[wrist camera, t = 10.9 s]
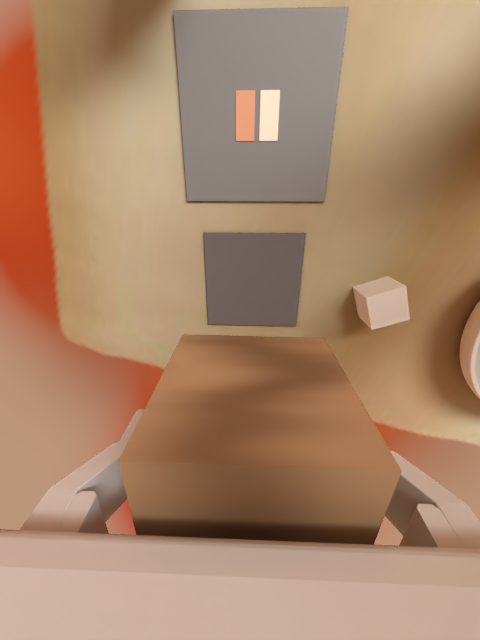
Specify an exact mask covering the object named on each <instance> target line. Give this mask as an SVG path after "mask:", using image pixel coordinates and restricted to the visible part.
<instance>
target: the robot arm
mask: <svg viewBox="0 0 480 640" xmlns="http://www.w3.org/2000/svg"><path fill="white" fill-rule="evenodd" d="M143 411H144V409H138V410H137V411H136V412H135V414H134V416H133V417H132V419H131V421H130V423H129V425H128V426H127V428H126V430H125V432H124V434H123V435H122V437H121V439H120V441H119V442H114V443H113V444H111V445H110V446H109V447H107V448H106V449H104V450H103V451H101V452H100V453H99V454H97V455H96V456H94V457H93V458H91V459H90V460H89V461H87V462H86V463H84V464H83V465H82V466H80V467H79V468H77V469H76V470H74V471H73V472H72V473H70V474H69V475H67V476H66V477H64V478H63V479H62V480H60V481H59V482H57V483H56V484H55V485H53V486H52V487H50V488H49V489H48V491H47V492H46V494H45V495H44V496H43V498H42V499H41V501H40V502H39V503H38V505H37V506H36V508H35V509H34V510H33V512H32V513H31V515H30V516H29V518H28V519H27V520H26V522H25V523H24V525H23V526H22V527H21V529H20V530H5V529H0V640H480V521H479V520H478V519H477V517H476V516H475V515H474V513H473V512H472V511H471V509H470V508H469V507H468V505H467V504H466V503H464V502H463V501H461V500H460V499H459V498H457V497H456V496H455V495H453V494H452V493H450V492H449V491H448V490H446V489H445V488H443V487H442V486H441V485H440V484H438V483H437V482H436V481H434V480H433V479H431V478H430V477H429V476H427V475H426V474H424V473H423V472H422V471H420V470H419V469H418V468H416V467H415V466H414V465H412V464H411V463H409V462H408V461H407V460H405V459H404V458H403V457H401V456H400V455H399V454H397V453H396V452H394V451H390V452H391V453H392V455H393V457H394V458H395V460H396V462H397V464H398V465H399V467H400V469H401V470H402V472H401V475H400V477H399V480H398V482H397V485H396V488H395V490H394V493H393V495H392V498H391V501H390V503H389V506H388V508H387V511H386V514H385V516H386V517H387V518H388V519H389V520H390V521H391V522H392V524H393V525H394V526H395V527H396V528H397V529H398V530H399V531H400V533H401V534H402V535H403V539H402V541H401V543H400V545H399V546H392V545H368V544H344V543H319V542H295V541H270V540H246V539H222V538H197V537H173V536H149V535H125V534H109V533H108V530H107V527H106V524H105V522H106V521H107V520H108V519H109V518H110V516H111V515H112V514H113V513H114V512H115V511H116V510H117V509H118V508H119V507H120V506H121V505H122V504H123V502H124V501H125V500H126V499H127V495H126V491H125V487H124V483H123V479H122V475H121V471H120V467H119V463H118V460H119V458H120V456H121V454H122V452H123V451H124V449H125V447H126V445H127V443H128V441H129V439H130V437H131V435H132V433H133V431H134V429H135V427H136V425H137V423H138V421H139V419H140V417H141V415H142V413H143Z"/></svg>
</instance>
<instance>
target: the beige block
mask: <svg viewBox="0 0 480 640" xmlns="http://www.w3.org/2000/svg"><path fill="white" fill-rule="evenodd" d="M353 291H354V296H355V301H356V307H357V312H358V316H359V317H360V318H361V319H362V321H363V322H364V323H365V324H366V325H367V326H368V327H369V328H370V329H371V330H374V329H378V328H382V327H385V326H389V325H392V324H396V323H399V322H403V321H407V320H410V316H409V307H408V298H407V289H406V285H404V284H402V283H400V282H398V281H396V280H394V279H392V278H390V277H389V276H386V277H383V278H380V279H377V280H373V281H370V282H367V283H364V284H360V285H357V286H354V287H353Z"/></svg>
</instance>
